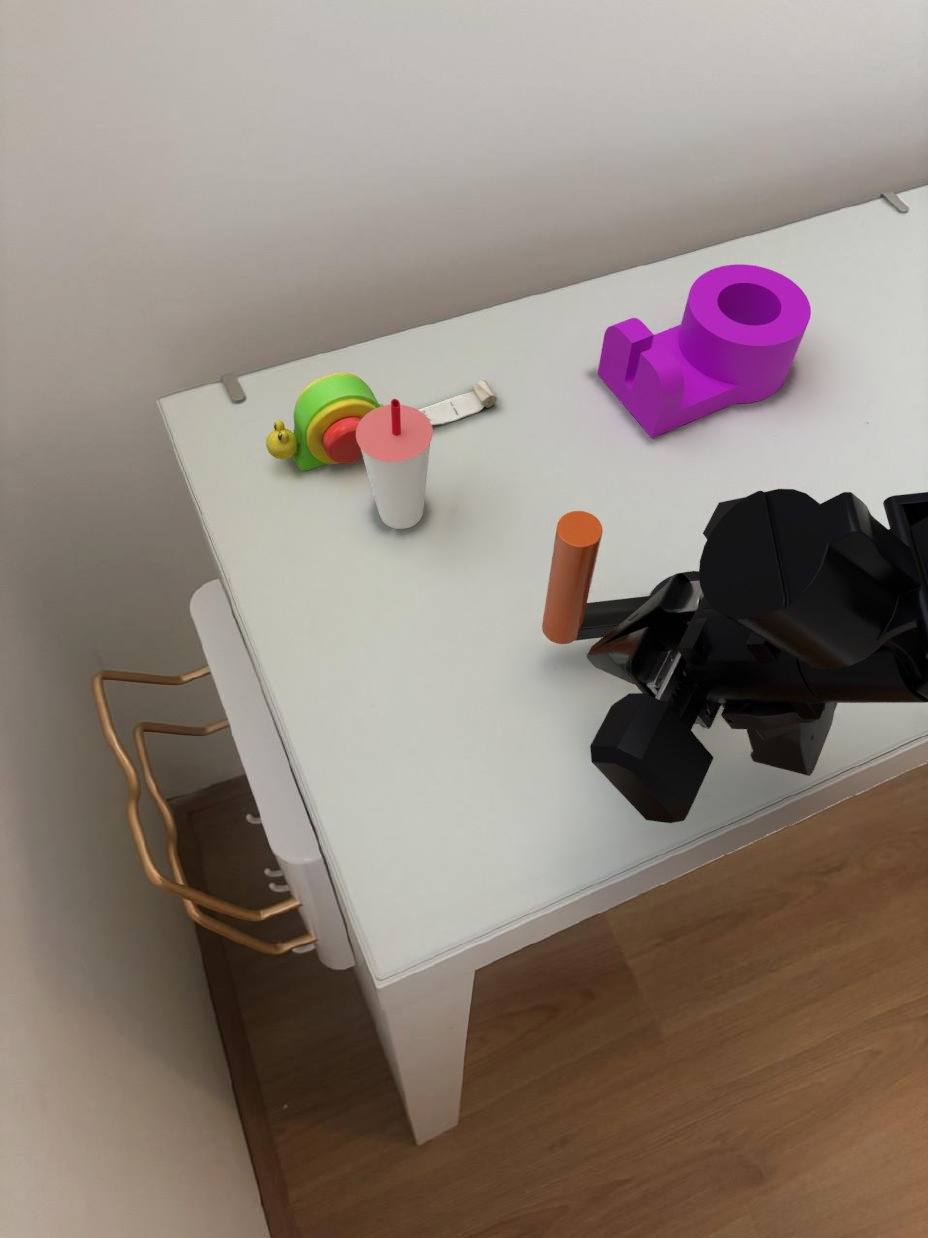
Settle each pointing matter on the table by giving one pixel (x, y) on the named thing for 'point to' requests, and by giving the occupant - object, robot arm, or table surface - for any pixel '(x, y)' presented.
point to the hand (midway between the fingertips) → (592, 657)
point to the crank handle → (580, 585)
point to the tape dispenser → (708, 348)
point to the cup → (396, 461)
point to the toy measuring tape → (350, 419)
